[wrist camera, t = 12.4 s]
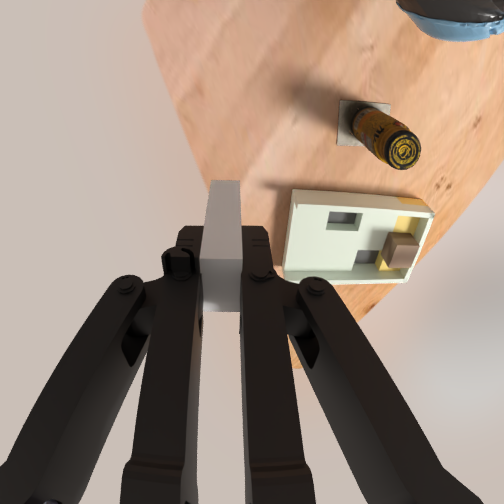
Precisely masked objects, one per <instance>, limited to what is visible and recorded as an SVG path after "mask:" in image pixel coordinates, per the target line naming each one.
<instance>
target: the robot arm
mask: <svg viewBox="0 0 504 504" xmlns="http://www.w3.org/2000/svg"><path fill="white" fill-rule="evenodd" d="M396 3H397V5H398V6H399V8H400V9H401V10H402V11H404V12H405V13H406V14H407V15H408V16H409V17H410V18H411V19H412V21H413V22H414V23H415V24H416V26H417V27H418V28H419V29H420V30H421V31H423V32H425V33H426V34H427V35H429V36H431V37H433V38H436V39H440V40H444V41H453V42H466V41H476V40H482V39H486V38H489V37H490V34H494V35H498V34H500V33H502V32H504V0H396ZM161 258H162V265H163V271H164V276H163V277H161V278H159V279H156V280H153V281H149V282H144V283H143V281H142V280H141V278H140V277H137V276H135V275H125V276H121V277H119V278H117V279H116V280H114V281H113V282H112V283H111V285H110V286H109V287H108V289H107V290H106V292H105V293H104V295H103V296H102V298H101V299H100V300H99V302H98V303H97V305H96V306H95V308H94V309H93V310H92V312H91V313H90V315H89V316H88V318H87V319H86V321H85V323H84V324H83V325H82V327H81V328H80V330H79V331H78V333H77V335H76V336H75V338H74V339H73V341H72V342H71V344H70V345H69V347H68V349H67V350H66V352H65V353H64V355H63V357H62V358H61V360H60V362H59V363H58V365H57V366H56V368H55V370H54V371H53V373H52V375H51V377H50V378H49V380H48V382H47V383H46V385H45V387H44V389H43V390H42V392H41V394H40V396H39V397H38V399H37V401H36V403H35V405H34V407H33V408H32V410H31V412H30V414H29V416H28V418H27V420H26V422H25V424H24V425H23V428H22V429H21V431H20V433H19V435H18V438H17V439H16V441H15V444H14V446H13V448H12V450H11V452H10V454H9V456H8V458H7V461H6V462H4V464H3V465H1V466H0V504H78V503H79V502H80V500H81V498H82V496H83V494H84V492H85V489H86V487H87V485H88V482H89V480H90V477H91V475H92V472H93V470H94V468H95V465H96V463H97V460H98V458H99V455H100V453H101V451H102V448H103V446H104V444H105V442H106V439H107V437H108V435H109V432H110V430H111V428H112V426H113V423H114V421H115V419H116V417H117V414H118V412H119V410H120V408H121V406H122V403H123V401H124V399H125V397H126V395H127V392H128V390H129V388H130V386H131V384H132V382H133V380H134V378H135V375H136V373H137V371H138V369H139V367H140V365H141V363H142V361H143V359H144V356H145V355H146V353H147V356H146V362H145V367H144V373H143V379H142V385H141V391H140V397H139V404H138V411H137V417H136V425H135V433H134V441H133V449H132V455H131V458H130V460H129V461H128V462H127V463H126V464H125V467H124V469H123V475H122V483H121V495H120V504H198V488H197V435H198V432H197V431H198V406H199V384H200V365H201V349H202V334H203V311H218V312H240V331H239V334H240V347H241V348H240V349H241V383H242V412H243V437H244V438H243V439H244V461H245V462H244V463H245V502H246V504H316V500H315V492H314V484H313V478H312V473H311V470H310V468H309V466H308V465H307V464H306V461H305V458H304V451H303V443H302V435H301V429H300V421H299V413H298V406H297V399H296V392H295V385H294V378H293V371H292V364H291V357H290V350H289V344H288V337H287V334H288V335H289V338H290V341H291V343H292V345H293V347H294V349H295V351H296V353H297V356H298V358H299V360H300V362H301V364H302V366H303V368H304V370H305V373H306V375H307V377H308V379H309V381H310V383H311V386H312V388H313V390H314V392H315V394H316V396H317V398H318V400H319V403H320V405H321V407H322V409H323V411H324V413H325V415H326V417H327V420H328V422H329V424H330V426H331V428H332V430H333V433H334V435H335V437H336V439H337V441H338V443H339V445H340V447H341V450H342V452H343V454H344V456H345V458H346V460H347V462H348V465H349V466H350V469H351V471H352V473H353V475H354V477H355V479H356V481H357V484H358V486H359V488H360V490H361V492H362V494H363V496H364V498H365V499H366V501H367V503H368V504H483V502H482V501H481V499H480V498H479V497H477V496H476V495H475V494H474V493H473V492H471V491H470V490H469V489H468V488H467V487H465V486H464V485H463V484H462V483H461V482H459V481H458V480H457V479H456V478H455V477H454V476H452V475H451V474H450V473H449V472H448V471H447V470H445V469H444V468H443V467H442V465H441V463H440V461H439V460H438V458H437V456H436V454H435V452H434V450H433V449H432V447H431V445H430V443H429V441H428V440H427V438H426V436H425V434H424V432H423V431H422V429H421V427H420V425H419V424H418V422H417V420H416V419H415V417H414V415H413V413H412V412H411V410H410V408H409V406H408V405H407V403H406V402H405V400H404V398H403V396H402V395H401V393H400V392H399V390H398V388H397V386H396V385H395V383H394V381H393V380H392V378H391V376H390V375H389V373H388V371H387V370H386V368H385V367H384V365H383V363H382V362H381V360H380V359H379V357H378V355H377V354H376V352H375V351H374V349H373V347H372V346H371V344H370V343H369V341H368V339H367V338H366V336H365V335H364V333H363V332H362V330H361V329H360V327H359V325H358V324H357V322H356V321H355V319H354V318H353V316H352V315H351V313H350V312H349V310H348V309H347V307H346V305H345V304H344V302H343V301H342V299H341V298H340V296H339V295H338V293H337V292H336V290H335V289H334V287H333V286H332V285H331V284H330V283H329V282H328V281H327V280H325V279H323V278H320V277H316V276H313V277H306V278H304V279H302V280H301V281H300V282H299V284H298V283H294V282H290V281H287V280H284V279H283V278H281V277H279V276H278V275H277V273H276V271H275V270H274V268H273V262H272V255H271V249H270V243H269V236H268V232H267V231H266V230H265V229H264V227H263V226H241V202H240V181H234V180H211V185H210V191H209V197H208V203H207V210H206V216H205V224H204V226H184V227H183V228H182V229H181V230H180V231H179V233H178V237H177V241H176V246H175V247H172V248H169V249H167V250H166V251H165V252H164V253H163V254H162V256H161Z"/></svg>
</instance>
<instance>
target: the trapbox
mask: <svg viewBox="0 0 504 504" xmlns="http://www.w3.org/2000/svg"><path fill="white" fill-rule="evenodd" d="M434 215H435V213H434V212H433V211H432V210H431V209H430V207H429V206H428V205H427V204H426V203H425V202H424V201H423V200H421V199H413V198H403V197H394V196H384V195H373V194H361V193H348V192H334V191H319V190H301V189H292V196H291V204H290V211H289V219H288V226H287V233H286V240H285V247H284V254H283V261H282V271H283V276H284V280H287V281H290V282H294V283H298V284H299V282H300V281H301V280H302V279H304V278H306V277H313V276H316V277H320V278H323V279H325V280H327V281H328V282H329V283H330V284H379V283H406V282H407V280H408V278H409V276H410V274H411V272H412V270H413V267H414V265H415V263H416V261H417V258H418V256H419V253H420V251H421V249H422V246H423V244H424V241H425V239H426V236H427V234H428V231H429V229H430V226H431V223H432V221H433V218H434ZM388 232H399V233H411V234H412V236H413V237H414V238H415V240H416V241H417V243H418V244H419V245H420V247H419V249H418V252H417V254H416V257H415V259H414V261H413V264H412V266H411V268H388V267H387V265H386V263H385V261H384V259H383V258H382V256H381V252H382V249H383V246H384V243H385V240H386V237H387V234H388Z"/></svg>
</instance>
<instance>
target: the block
mask: <svg viewBox="0 0 504 504" xmlns="http://www.w3.org/2000/svg"><path fill="white" fill-rule="evenodd" d="M419 247H420V245H419V244H418V243H417V241H416V240H415V238H414V237H413V236H412V234H411V233H399V232H388V234H387V237H386V240H385V243H384V246H383V249H382V252H381V256H382V258H383V259H384V261H385V263H386V265H387V267H388V268H411V266H412V264H413V261H414V259H415V257H416V254H417V252H418V249H419Z"/></svg>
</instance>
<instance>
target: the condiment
mask: <svg viewBox="0 0 504 504" xmlns="http://www.w3.org/2000/svg"><path fill="white" fill-rule="evenodd" d="M390 108H391V105H390V104H381V103H372V102H360V101H345V100H340V106H339V121H338V137H337V138H338V139H337V145H340V146H365V147H366V148H367V149H368V150H369V151H371V153H373V154H374V155H375V156H376V157H377V158H378V159H379V160H381V161H382V162H384V163H387V164H389V165H390V166H391V167H393V168H395V169H398V170H406V169H408V168H410V167H412V166H414V165H415V164H416V162H417V161H418V159H419V157H420V152H421V145H420V142H419V140H418V138H417V136H416V135H415V134H414V133H412V132H411V131H410V130H409V128H408V127H407V126H405V125H404V124H403V123H401V122H399V121H397V120H396V119H394V118H392V117H391V116H390ZM358 109H359V110H358ZM349 131H350V132H351V133H352V134H353V135H352V134H351V133H349Z"/></svg>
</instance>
